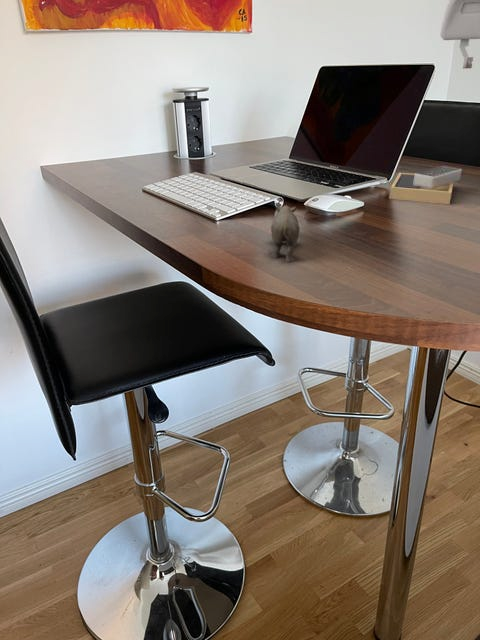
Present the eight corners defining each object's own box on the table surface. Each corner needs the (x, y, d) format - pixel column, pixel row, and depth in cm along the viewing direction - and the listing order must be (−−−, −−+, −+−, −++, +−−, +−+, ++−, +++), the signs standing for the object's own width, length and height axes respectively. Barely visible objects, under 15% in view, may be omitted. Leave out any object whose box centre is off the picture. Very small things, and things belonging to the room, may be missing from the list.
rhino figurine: (297, 232, 82) (299, 195, 79) (298, 264, 70) (301, 222, 67) (272, 231, 82) (273, 195, 79) (269, 263, 70) (270, 222, 67)
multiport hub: (411, 185, 99) (413, 173, 98) (440, 176, 105) (442, 165, 104) (432, 189, 96) (434, 177, 95) (460, 180, 102) (462, 168, 101)
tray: (397, 184, 110) (399, 172, 109) (451, 188, 106) (454, 176, 105) (388, 199, 99) (390, 187, 97) (449, 205, 95) (451, 192, 94)
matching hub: (401, 183, 108) (402, 174, 107) (420, 185, 107) (422, 175, 106) (394, 196, 99) (396, 186, 98) (415, 198, 98) (417, 187, 97)
